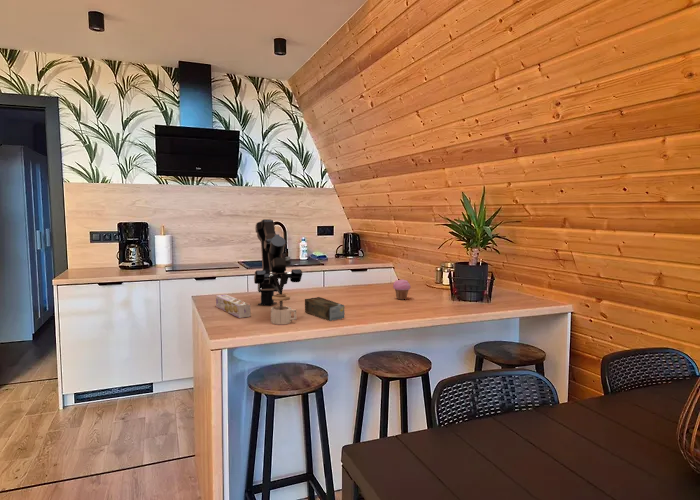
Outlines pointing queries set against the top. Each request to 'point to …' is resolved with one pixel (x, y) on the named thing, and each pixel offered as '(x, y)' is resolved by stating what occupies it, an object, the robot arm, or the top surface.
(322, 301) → the beverage carton
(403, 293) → the cupcake
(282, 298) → the plunger
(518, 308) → the top surface
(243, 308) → the box
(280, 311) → the press pot
